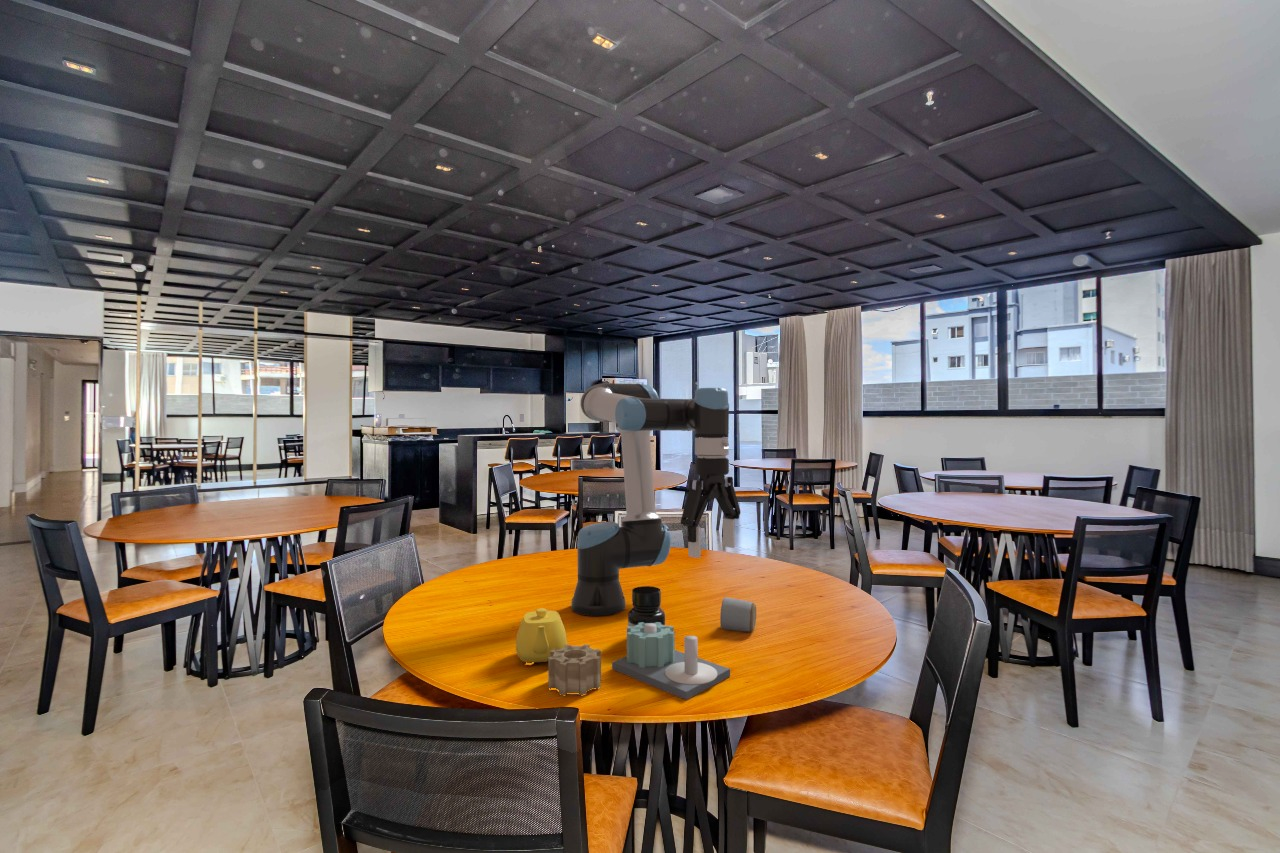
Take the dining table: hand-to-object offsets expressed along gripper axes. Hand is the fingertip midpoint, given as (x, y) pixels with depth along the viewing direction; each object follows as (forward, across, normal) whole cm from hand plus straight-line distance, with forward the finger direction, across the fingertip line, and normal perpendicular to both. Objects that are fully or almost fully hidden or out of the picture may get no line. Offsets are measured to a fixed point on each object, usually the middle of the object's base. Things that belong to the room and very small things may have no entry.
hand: (712, 551), depth 129 cm
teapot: (+23, -27, +26) cm, 44 cm away
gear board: (+23, -14, +1) cm, 27 cm away
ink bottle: (+23, -4, +16) cm, 28 cm away
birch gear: (+23, -31, +12) cm, 40 cm away
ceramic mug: (+23, +18, +4) cm, 30 cm away
